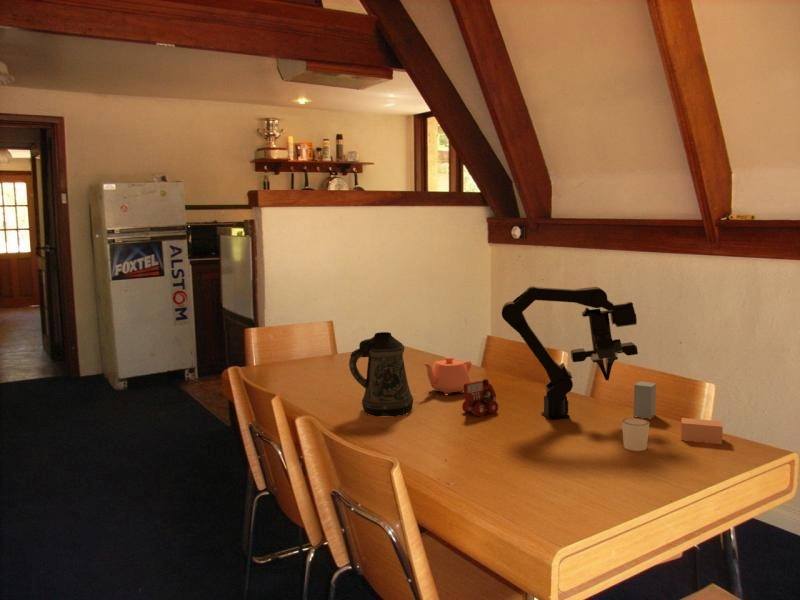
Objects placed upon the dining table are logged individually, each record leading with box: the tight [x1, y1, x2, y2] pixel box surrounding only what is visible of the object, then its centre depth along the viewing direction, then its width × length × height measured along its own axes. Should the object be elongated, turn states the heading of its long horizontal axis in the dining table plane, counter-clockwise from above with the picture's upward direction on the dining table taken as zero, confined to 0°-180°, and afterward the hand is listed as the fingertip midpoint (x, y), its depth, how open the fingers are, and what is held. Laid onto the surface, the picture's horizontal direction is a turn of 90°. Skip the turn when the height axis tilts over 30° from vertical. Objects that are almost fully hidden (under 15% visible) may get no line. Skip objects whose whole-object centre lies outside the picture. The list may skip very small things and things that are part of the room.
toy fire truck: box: [461, 378, 499, 418], centre depth 212 cm, size 7×12×10 cm, turn 124°
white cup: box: [621, 417, 650, 452], centre depth 178 cm, size 7×7×7 cm
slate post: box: [633, 380, 657, 419], centre depth 205 cm, size 5×5×10 cm
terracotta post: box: [680, 417, 724, 445], centre depth 183 cm, size 5×5×10 cm
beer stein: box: [348, 331, 414, 417], centre depth 216 cm, size 16×19×25 cm
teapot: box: [422, 356, 472, 395], centre depth 239 cm, size 13×20×12 cm, turn 118°
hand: (607, 380), depth 204 cm, fingers closed
